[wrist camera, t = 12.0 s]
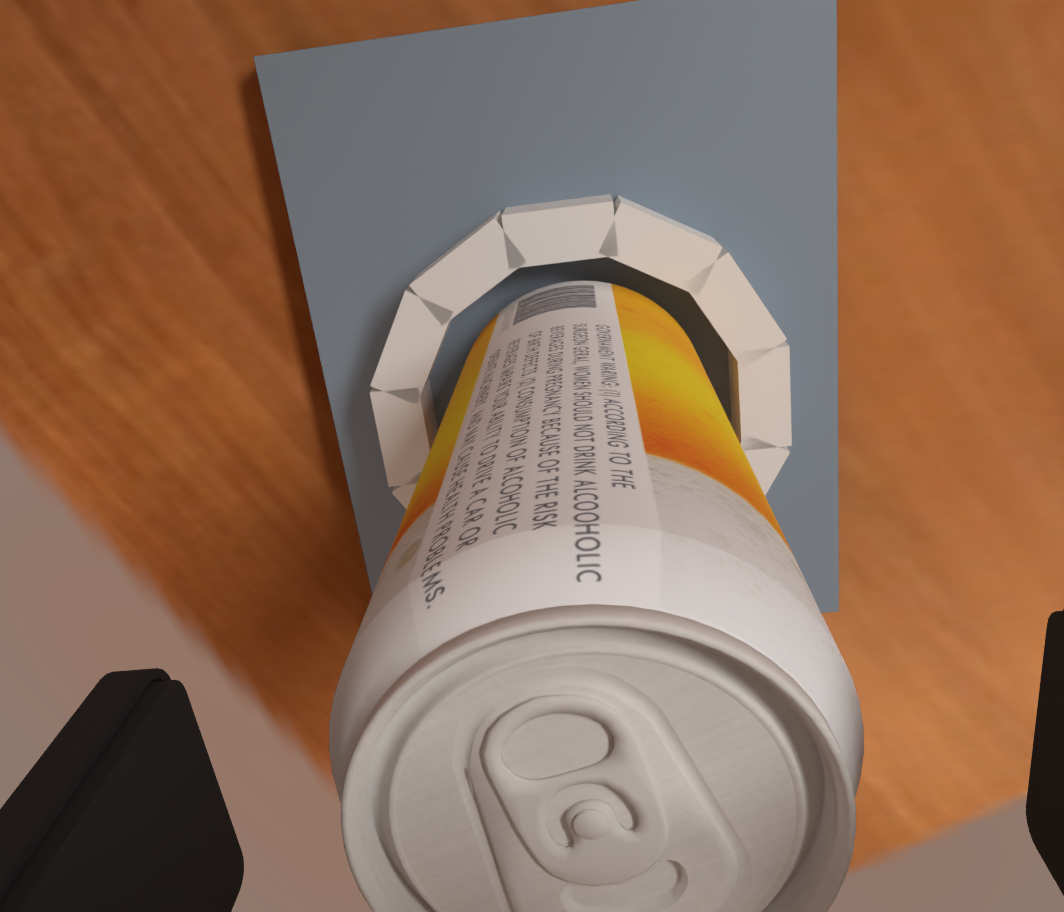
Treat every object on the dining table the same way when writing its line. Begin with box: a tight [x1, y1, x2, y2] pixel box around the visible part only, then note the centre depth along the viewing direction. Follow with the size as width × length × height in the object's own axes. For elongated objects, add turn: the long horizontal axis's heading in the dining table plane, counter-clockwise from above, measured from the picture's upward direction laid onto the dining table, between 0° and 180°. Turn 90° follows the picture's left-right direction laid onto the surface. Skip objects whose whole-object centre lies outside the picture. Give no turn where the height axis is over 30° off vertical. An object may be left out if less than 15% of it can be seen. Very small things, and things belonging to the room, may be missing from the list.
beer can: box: [329, 280, 864, 912], centre depth 16 cm, size 6×6×15 cm
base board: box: [254, 0, 839, 613], centre depth 23 cm, size 16×13×2 cm
